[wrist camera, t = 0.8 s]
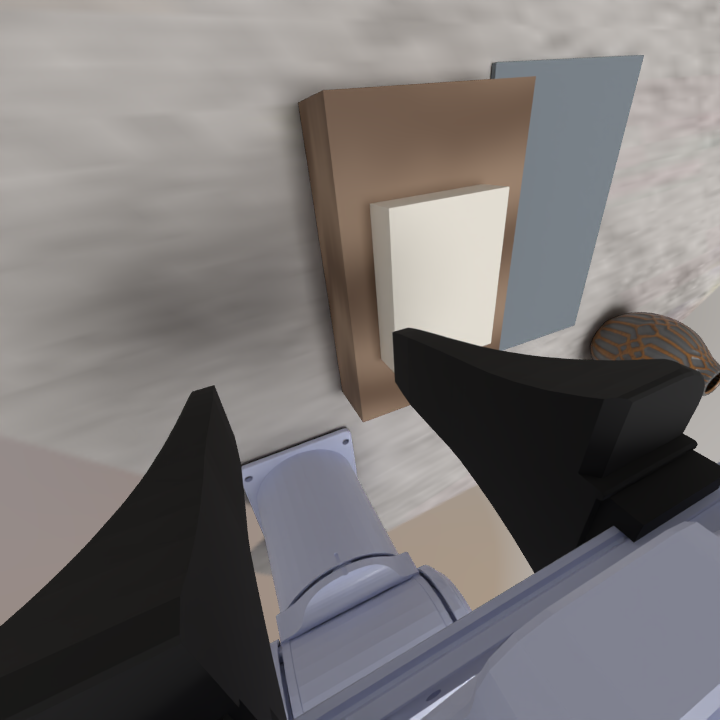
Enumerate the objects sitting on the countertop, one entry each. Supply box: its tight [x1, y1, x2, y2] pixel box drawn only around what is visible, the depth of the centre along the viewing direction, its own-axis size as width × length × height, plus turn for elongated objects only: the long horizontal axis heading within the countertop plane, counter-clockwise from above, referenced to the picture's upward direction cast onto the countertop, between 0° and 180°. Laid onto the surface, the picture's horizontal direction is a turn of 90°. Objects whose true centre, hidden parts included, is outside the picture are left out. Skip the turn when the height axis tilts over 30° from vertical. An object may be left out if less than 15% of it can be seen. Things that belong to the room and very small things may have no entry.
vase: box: [591, 312, 720, 396], centre depth 30 cm, size 7×7×9 cm
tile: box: [370, 184, 509, 372], centre depth 17 cm, size 8×6×2 cm
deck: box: [298, 76, 536, 422], centre depth 20 cm, size 16×10×4 cm, turn 7°
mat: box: [491, 55, 644, 351], centre depth 24 cm, size 18×11×1 cm, turn 7°
